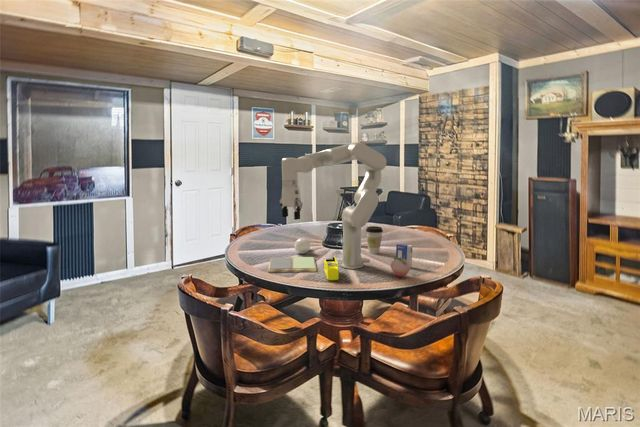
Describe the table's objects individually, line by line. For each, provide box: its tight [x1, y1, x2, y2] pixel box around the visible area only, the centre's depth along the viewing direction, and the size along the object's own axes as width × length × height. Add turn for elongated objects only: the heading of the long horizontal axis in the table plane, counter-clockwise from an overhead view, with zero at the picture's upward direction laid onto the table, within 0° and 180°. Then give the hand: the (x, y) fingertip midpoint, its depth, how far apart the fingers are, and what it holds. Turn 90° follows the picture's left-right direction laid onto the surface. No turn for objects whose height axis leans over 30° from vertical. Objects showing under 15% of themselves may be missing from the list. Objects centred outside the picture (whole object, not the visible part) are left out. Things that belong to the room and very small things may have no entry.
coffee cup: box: [365, 225, 384, 255], centre depth 231 cm, size 10×10×15 cm
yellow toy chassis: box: [323, 255, 340, 281], centre depth 190 cm, size 16×6×8 cm, turn 6°
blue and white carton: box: [395, 243, 414, 269], centre depth 204 cm, size 8×3×12 cm, turn 61°
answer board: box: [267, 256, 317, 273], centre depth 206 cm, size 24×22×2 cm
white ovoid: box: [294, 237, 311, 255], centre depth 231 cm, size 9×10×15 cm
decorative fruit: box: [390, 257, 411, 278], centre depth 188 cm, size 9×8×10 cm
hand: (291, 218), depth 193 cm, fingers open, 9 cm apart
